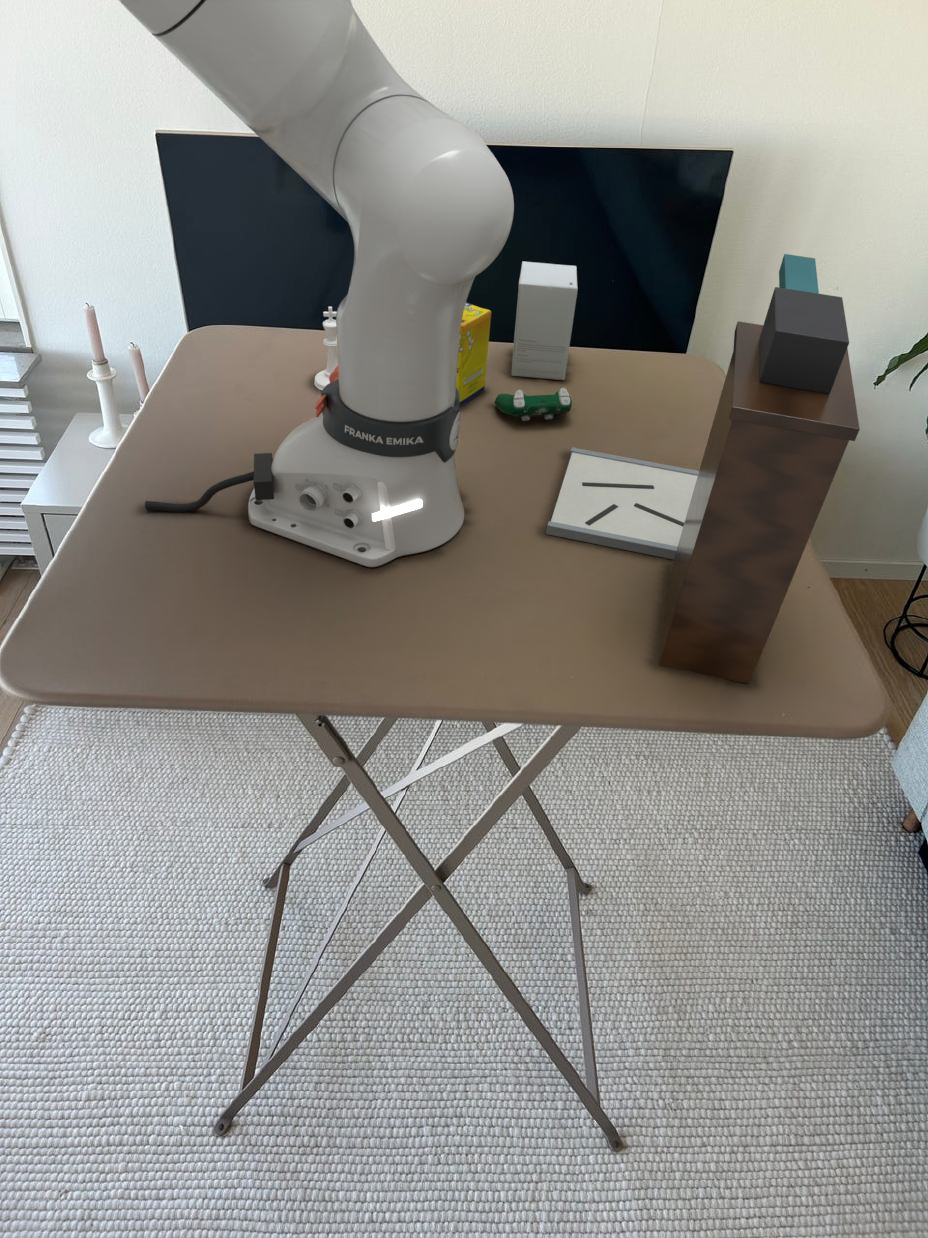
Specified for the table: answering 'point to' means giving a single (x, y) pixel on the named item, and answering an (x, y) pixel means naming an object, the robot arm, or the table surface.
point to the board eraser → (802, 331)
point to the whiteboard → (623, 503)
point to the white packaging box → (544, 320)
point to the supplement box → (472, 352)
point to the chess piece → (331, 342)
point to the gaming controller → (534, 404)
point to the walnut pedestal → (751, 512)
